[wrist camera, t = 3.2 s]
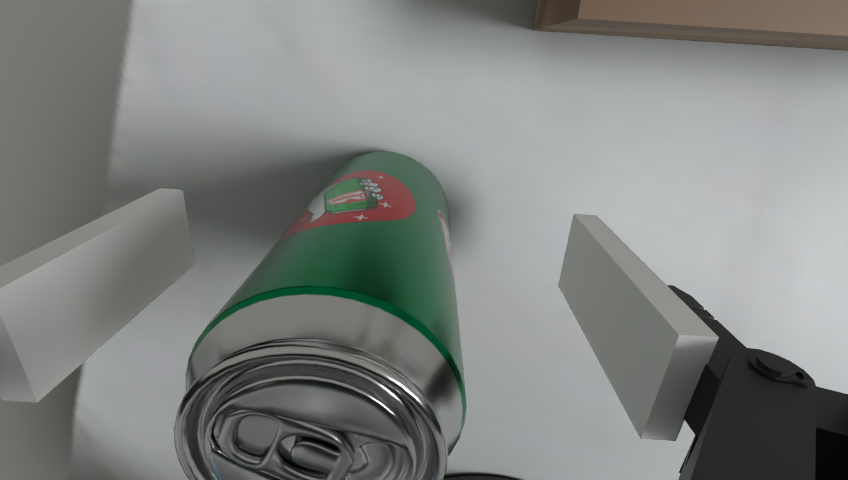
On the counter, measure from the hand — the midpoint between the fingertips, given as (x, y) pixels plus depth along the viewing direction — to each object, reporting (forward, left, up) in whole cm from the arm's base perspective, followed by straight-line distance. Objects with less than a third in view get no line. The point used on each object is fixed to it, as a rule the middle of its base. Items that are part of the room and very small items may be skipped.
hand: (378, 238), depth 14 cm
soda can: (0, 0, -4) cm, 4 cm away
